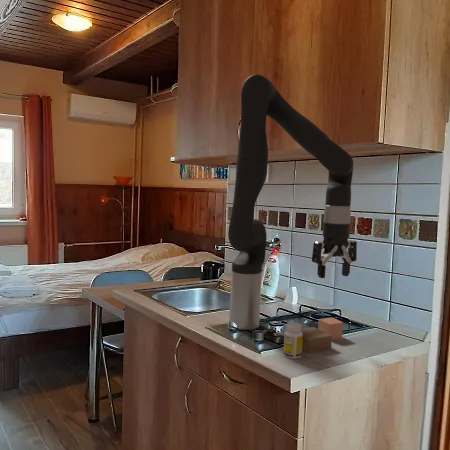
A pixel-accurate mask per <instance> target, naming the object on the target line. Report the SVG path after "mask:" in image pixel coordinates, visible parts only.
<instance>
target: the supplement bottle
mask: <svg viewBox="0 0 450 450" xmlns="http://www.w3.org/2000/svg"><path fill="white" fill-rule="evenodd" d="M301 329H303V326H302V324H301V323H299V322H296V321H295V322H293V321H291V322H290V321H289V322H287V323H286V325H285V331H284V333H283V334H284V336H283V356H284V357H285V358H288V359H290V360H291V359H295V360H296V359H300V358H302V357H303V350H302V340H303V333H302V332H301Z"/></svg>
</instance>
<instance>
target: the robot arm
mask: <svg viewBox="0 0 450 450" xmlns="http://www.w3.org/2000/svg"><path fill="white" fill-rule="evenodd" d="M240 115H241V116H240V117H241V118H240V130H239V131H240V132H239V138H238V148H237V155H236V156H237V158H236V168H235V181H234V182H235V184H234V191H233V201H232V208H231V214H230V220H229V225H228V230H227V231H228V233H227V234H228V235H227V236H228V237H227V238H228V242H229V244H230V246H231V248H233V249H234V250H236V251H238V252H239V253H238V255H237V257H236V258H235V259H234V260H233V261H232V263H231V278H230V281H231V283H230V286H231V287H230V293H229V317H228V319H229V320H228V322H229V323H230V322H234V323H235V324H236V325H237V328H238V329H237V330H245V331H248V330H255V329H257V328H259V327H260V316H261V315H260V314H261V313H260V312H261V293H262V292H261V291H262V290H261V289H262V271H263V267H264V266H263V265H264V263H265V261H266V259H265V258H266V250H267V236H268V235H267V230H266V229H267V228H266V227H265V225H264V223H263V222H262V221H260V220H259V219H255V218H254V215H255V214H254V212H255V206H256V203H257V200H258V197H259V195H260V193H261V191H262V189H263V187H264V185H265V183H266V179H267V175H268V166H269V165H268V163H269V147H268V139H267V129H266V127H267V125H266V124H267V117H269V118H271V119H272V120H274V121H275V122H276V124H278V125H279V126H280V127H282V129H283V130H284V131H285V132H286V133H287V134H288V135H289V136H290V137H291V138H292V140H294V141H295V142H296V143H297V144H298V145H299V146H300V147H302V149H304V150H305V151H306V152H307V153H309V154H310V155H311V156H312V157H314V158H315V159H317V161H318V162H319V163H320V164H321V165H322V166H323V167H325V169H326V170H327V171H328V175H327V176H328V179H327V180H328V181H327V183H328V184H327V187H326V191H325V203H324V204H325V205H324V211H323V223H322V237H323V241H322V242H320V241H314V242H313V246H312V255H311V262H312V263H315V264H317V276H318V278H320V279H325V278H326V269H327V268H326V267H327V265H326V264H327V262H328V261H329V260H330V259H331V258H335V257H339V258H341V260H342V263H341V264H342V266H341V267H342V268H341V275H342V276H343V277H349V275H350V272H351V264H352V263H353V262H356V261H357V250H358V249H357V248H358V244H357V243H358V242H357V241H355V240H352V239H349V238H350V235H351V218H352V215H351V214H352V213H351V201H352V180H353V174H354V159H353V157H352V156H351V154H349V152H347V151H346V150H345V149H343V148H342V147H341V146H340V145H338V144H337V143H336V142H335V141H333V140H331V138H330V137H329V136H328V134H326V133H325V132H324V131H323V130H321V128H319V126H317V125H316V124H315V123H313V122H312V121H311V120H310V119H308V118H307V117H306V116H305V115H303V114H302V113H301V112H299V111H298V110H296V109H295V108H294V107H293V106H292V105H290V103H289V102H287V100H286V99H285V98H284V97H283V95H282V94H280V92H279V91H278V90H277V89H276V87H275V85H274V83H272V81H271V80H270V79H268V78H267V77H265V76H264V75H261V74H258V73H257V74H251V75H249V76H248V77H247V78H246V79H245V80H244V82H243V83H242V86H241V89H240Z"/></svg>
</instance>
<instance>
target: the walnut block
mask: <svg viewBox="0 0 450 450" xmlns="http://www.w3.org/2000/svg"><path fill="white" fill-rule="evenodd" d="M301 332H302V333H303V340H302V352H303V351H304V352H305V353H307V354H311V353H316V352H322V351H327V350H332V345H333V344H332V342H333V340H332V335H329V334H327V333H325V332H323V331H321V330H319V329H318V328H316V327H315V326H312V327H311V326H310V327H305V328H303V327H302V329H301Z"/></svg>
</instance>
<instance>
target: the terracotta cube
mask: <svg viewBox="0 0 450 450" xmlns="http://www.w3.org/2000/svg"><path fill="white" fill-rule="evenodd" d="M317 327H318V328H317V329H319V330H321V331H323V332H325V333H327V334H329V335H332V341H337V340H342V339H343V331H344V330H343V328H344V322H343V321H341V320H339V319H336V318H334V317H325V318H319V319H318V325H317Z"/></svg>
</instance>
